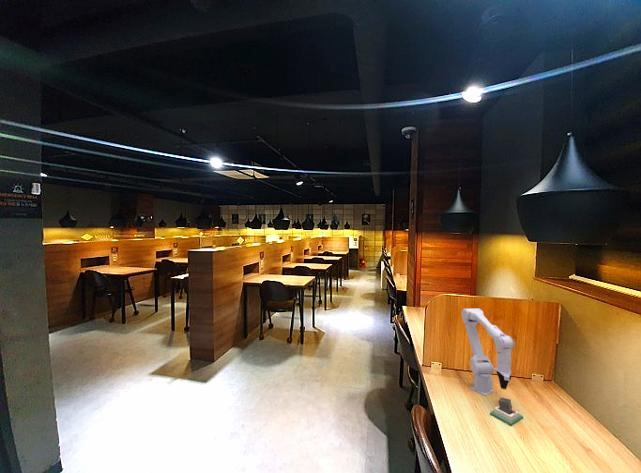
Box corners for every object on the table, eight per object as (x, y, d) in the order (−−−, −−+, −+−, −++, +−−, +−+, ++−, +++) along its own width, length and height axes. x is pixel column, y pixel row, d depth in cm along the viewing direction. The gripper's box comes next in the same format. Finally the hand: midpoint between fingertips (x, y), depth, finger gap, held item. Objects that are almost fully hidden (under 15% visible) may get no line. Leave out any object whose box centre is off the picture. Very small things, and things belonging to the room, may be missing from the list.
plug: (503, 410, 131) (500, 397, 132) (516, 414, 127) (514, 400, 128) (500, 414, 128) (498, 400, 129) (514, 417, 124) (512, 403, 125)
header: (502, 407, 133) (502, 403, 133) (518, 416, 127) (519, 411, 127) (494, 412, 130) (494, 407, 130) (510, 421, 124) (510, 416, 124)
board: (502, 407, 135) (502, 405, 135) (523, 418, 127) (523, 416, 127) (489, 414, 130) (489, 412, 130) (510, 426, 122) (510, 423, 122)
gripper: (491, 353, 144) (491, 379, 144) (497, 365, 130) (496, 393, 130) (507, 356, 141) (507, 382, 141) (514, 368, 127) (514, 397, 127)
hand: (503, 388), depth 135 cm, fingers closed
